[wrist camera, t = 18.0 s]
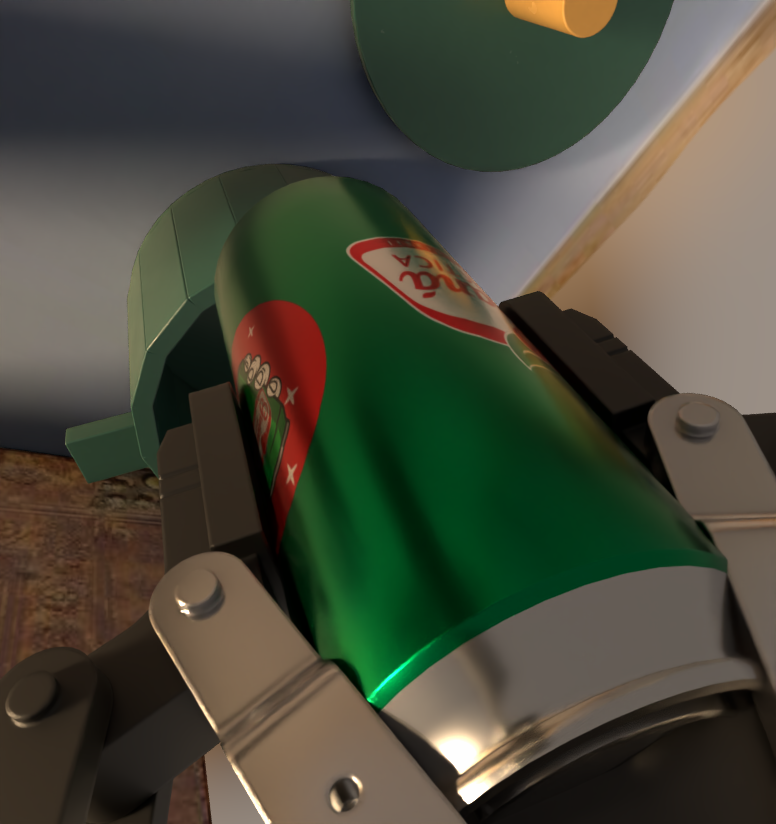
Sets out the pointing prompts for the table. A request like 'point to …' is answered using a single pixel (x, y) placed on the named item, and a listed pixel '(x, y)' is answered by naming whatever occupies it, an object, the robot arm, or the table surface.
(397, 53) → the green pot lid
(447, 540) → the soda can
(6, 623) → the book
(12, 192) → the table surface
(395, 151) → the table surface
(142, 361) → the green cooking pot
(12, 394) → the table surface
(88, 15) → the table surface
